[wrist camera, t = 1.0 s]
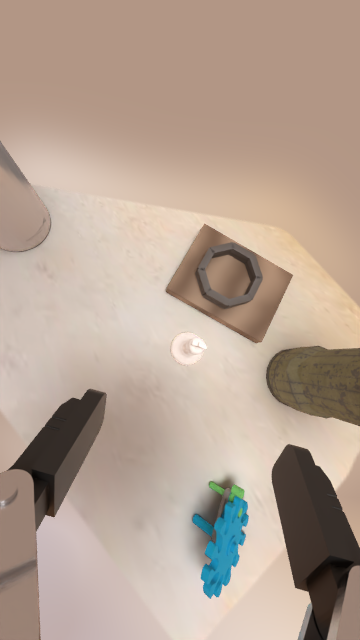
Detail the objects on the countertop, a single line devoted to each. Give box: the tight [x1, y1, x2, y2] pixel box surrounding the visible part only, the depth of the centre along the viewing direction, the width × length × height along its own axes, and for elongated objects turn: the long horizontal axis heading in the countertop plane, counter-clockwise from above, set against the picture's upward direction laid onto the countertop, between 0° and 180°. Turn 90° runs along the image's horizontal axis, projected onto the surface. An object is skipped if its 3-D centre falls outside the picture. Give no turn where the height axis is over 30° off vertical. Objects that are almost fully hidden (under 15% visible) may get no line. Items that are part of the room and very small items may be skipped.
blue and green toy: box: [193, 482, 249, 599], centre depth 30 cm, size 11×6×10 cm
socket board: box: [166, 224, 293, 343], centre depth 36 cm, size 16×12×4 cm
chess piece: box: [171, 332, 207, 365], centre depth 31 cm, size 5×5×10 cm
